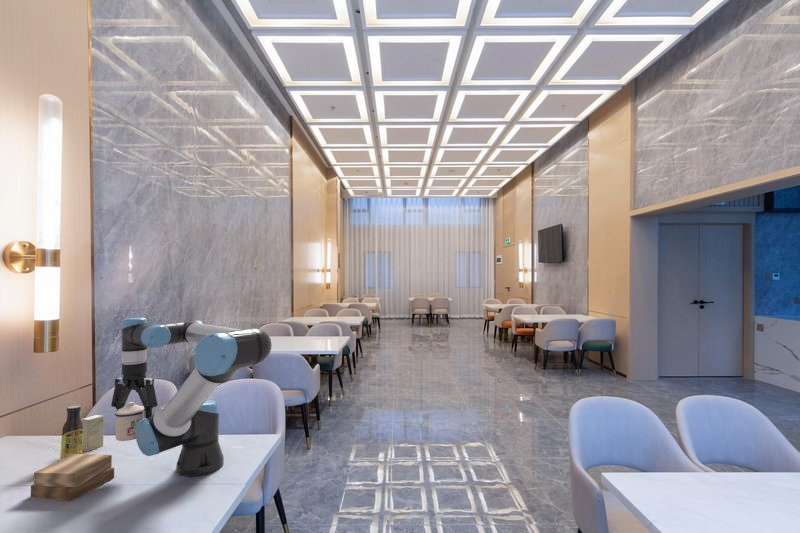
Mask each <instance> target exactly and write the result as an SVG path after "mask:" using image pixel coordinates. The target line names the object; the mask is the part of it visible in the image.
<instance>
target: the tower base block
mask: <svg viewBox="0 0 800 533" xmlns="http://www.w3.org/2000/svg"><path fill="white" fill-rule="evenodd" d="M113 479H115V467H111V468H109V469H107V470H105V471H104V472H102V473H100V474H98V475H97V476H95V477H93V478H92V479H90V480H88V481H86V482H85V483H83V484H81V485H80V486H78V487H52V486H34V483H33V484H31V485H30V497H31V498H40V499H45V500H46V499H47V500H55V501H57V500H58V501H65V502H72V501H74V500H76V499H78V498H80V497H81V496H83V495H85V494H87V493H89V492H91V491H93V490H95V489H97V488H98V487H100V486H102V485H104V484H106V483H108V482H110V481H112V480H113Z"/></svg>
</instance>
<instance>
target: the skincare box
mask: <svg viewBox="0 0 800 533" xmlns="http://www.w3.org/2000/svg"><path fill="white" fill-rule="evenodd" d="M80 419H81V421H82V423H83V441H82V452H83V451H84V452H90V451H93V450H96V449H99V448H101V447H104V419H105V416H104V415H103V414H94V415H91V416H88V417H84V418H80Z"/></svg>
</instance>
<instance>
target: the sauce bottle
mask: <svg viewBox="0 0 800 533" xmlns="http://www.w3.org/2000/svg"><path fill="white" fill-rule="evenodd" d="M81 408H82V406H81V405H70V406H68V407H67V408H66V412H67V413H66V421H65V422H64V424H63V426H62V430H61V431H62V432H61V442H60V443H61V444H60V457H59V458H60V459H59V460H61V459H63V458H65V457H68V456H70V455H72V454H83V450H82V441H83V423H82V421H81V419H82V418H81V411H82V410H81Z"/></svg>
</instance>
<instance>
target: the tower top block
mask: <svg viewBox="0 0 800 533" xmlns="http://www.w3.org/2000/svg"><path fill="white" fill-rule="evenodd" d="M112 456H113V455H112V454H96V453H95V454H91V453H90V454H89V453H87V454H85V453H84V454H83V453H82V454H72V455H70V456H68V457H65V458H63V459H59V460H57V461H56V462H53V463H51V464H49V465H47V466H45V467H43V468H41V469H39V470H37V471H34V472H33V484H34V486H52V487H78V486H80V485H81V484H83V483H85V482H86V481H88V480H90V479H92V478H93V477H95V476H97V475H98V474H100V473H102V472H104V471H105V470H107V469H109V468H113V466H112V463H113V462H112V460H113V459H112V458H113V457H112Z"/></svg>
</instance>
